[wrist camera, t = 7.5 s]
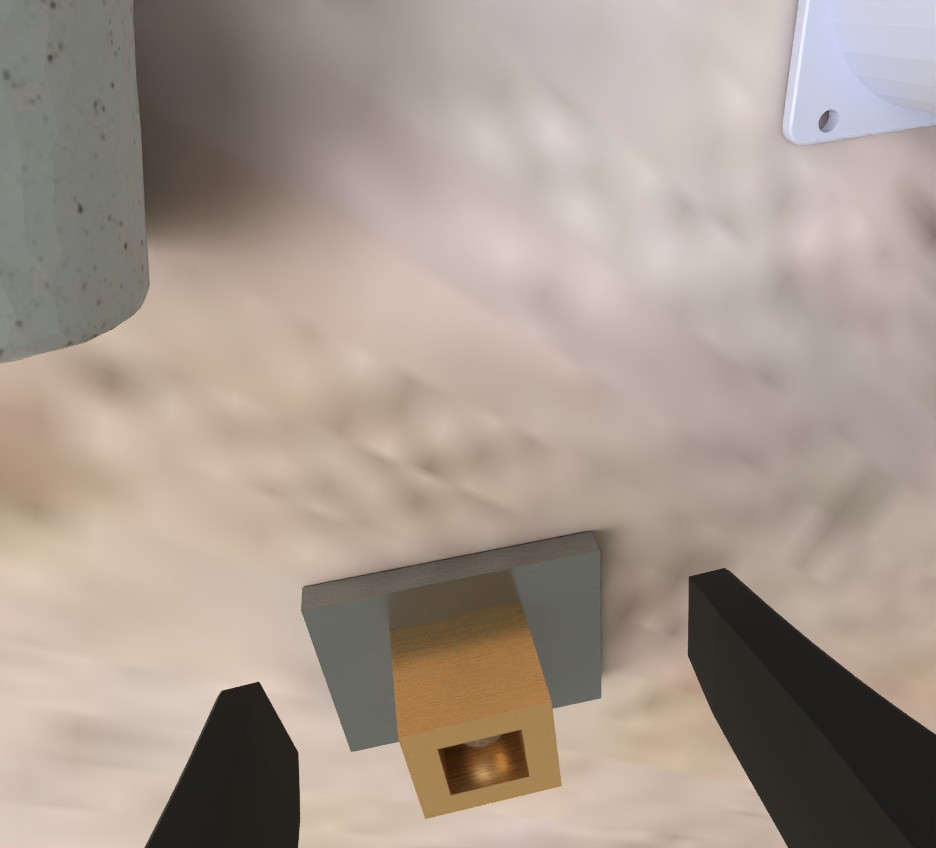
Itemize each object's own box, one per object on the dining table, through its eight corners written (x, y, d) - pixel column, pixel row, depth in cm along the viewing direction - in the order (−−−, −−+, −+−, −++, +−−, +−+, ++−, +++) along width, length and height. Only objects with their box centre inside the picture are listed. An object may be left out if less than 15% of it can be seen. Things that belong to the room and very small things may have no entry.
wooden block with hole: (521, 601, 23) (551, 701, 20) (532, 684, 26) (561, 786, 23) (389, 630, 23) (397, 737, 20) (413, 711, 26) (425, 818, 22)
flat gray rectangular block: (591, 531, 24) (632, 619, 20) (593, 677, 28) (628, 769, 25) (302, 587, 23) (296, 688, 20) (350, 728, 27) (352, 831, 24)
